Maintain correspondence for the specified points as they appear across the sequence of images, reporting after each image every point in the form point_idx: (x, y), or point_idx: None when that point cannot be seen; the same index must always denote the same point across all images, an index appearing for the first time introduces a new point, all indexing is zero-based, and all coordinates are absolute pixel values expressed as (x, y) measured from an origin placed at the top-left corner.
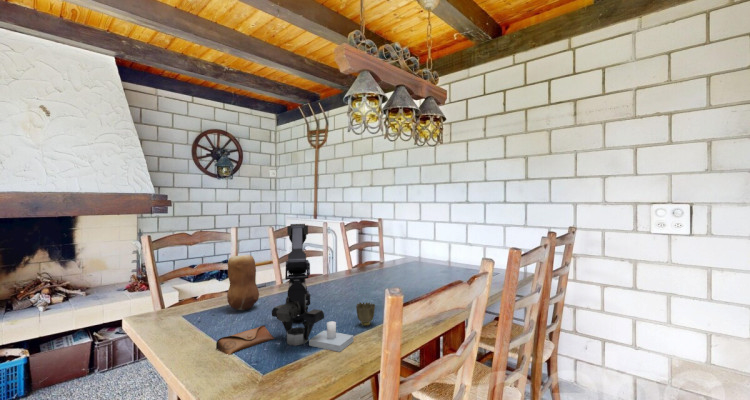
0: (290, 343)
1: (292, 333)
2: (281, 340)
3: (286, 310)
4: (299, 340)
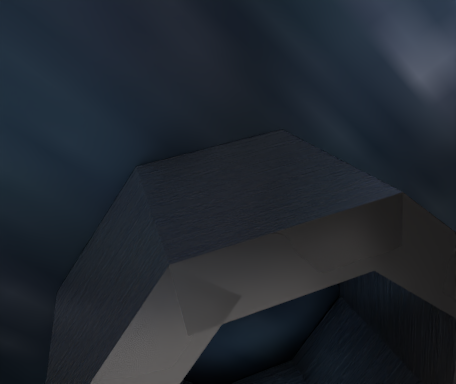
0: (232, 149)
1: (310, 287)
2: (449, 155)
3: None
4: (87, 282)
